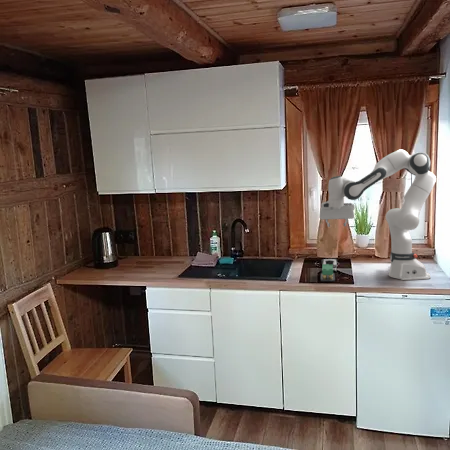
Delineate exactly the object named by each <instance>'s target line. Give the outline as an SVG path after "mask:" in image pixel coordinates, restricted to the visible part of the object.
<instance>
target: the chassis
mask: <svg viewBox="0 0 450 450" xmlns="http://www.w3.org/2000/svg"><path fill="white" fill-rule="evenodd" d="M335 274H336V273H333V275H322V272H320V282H336V275H335Z"/></svg>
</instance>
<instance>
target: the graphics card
mask: <svg viewBox="0 0 450 450" xmlns="http://www.w3.org/2000/svg"><path fill="white" fill-rule="evenodd" d="M321 264H333V273H334V274H337V270H338V269H337V267H338V259H337V258H328V259H327V258H325V259H324V258H323V259H321Z"/></svg>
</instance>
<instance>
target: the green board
mask: <svg viewBox="0 0 450 450" xmlns="http://www.w3.org/2000/svg"><path fill="white" fill-rule="evenodd" d="M321 264H322V266H321V267H322V268H321V273H322V275H333V271H334V270H333V264H323V263H321Z"/></svg>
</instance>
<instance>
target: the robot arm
mask: <svg viewBox="0 0 450 450" xmlns="http://www.w3.org/2000/svg"><path fill="white" fill-rule="evenodd" d="M403 169H404V170H405V171H407V172H408V173H409V174H411V175H413V176H415V178H414V180H413V182H412V183H411V185H410V186H409V187H408V189H407V190H406V193H405V195H404V196H403V204H402V206H401V208H398V207H397V208H390V209H389V210H388V211H387V212H386V214H385V220H386V222H387V224H388V229H389V233H390V239H391V242H390V243H391V246H390V247H391V251H390V269H389V272H388V276H389V277H391V278H392V279H393V278H394V279H399V280H401V281H413V280H429V279H431V274H430V273H429V272H428V271H427V269H426V266H425V265H424V263H422V262H421V261H420V260H418V259H417V258H418V255H417V253H416V252H413V239H412V236H411V234H410V231H413V230H416V229H417V227H419V224H420V219H419V217H420V213H421V212H422V211H421V210H422V208H423V206H424V205H425V202H426V200H427V199H428V197H429V196H430V194H431V192H432V191H433V188H434V186H435V184H436V182H437V178H436V177H437V176H436V175H435V174H434V173H433V172H432V171H430V170H431V159H430V156H429V155H428V154H427V153H426V152H423V151H418V152H415V153H413V154H412V155H410V154H409V153H408V152H407V151H406V150H404V149H398V150H395V151H394V152H391V153H389V154H387V155H386V156H384V157H382V158H381V159H380V160H379V161H377V162H376V164H375V166H374V168H373V170H372V171H371V172H370V173H369V174H367V175H365V176H364V177H363V178H361V179H359V180H357V181H353V180H350V179H347V178H345V177H343V176H342V175H336V176H333V177H330V178H329V181H328V189H327V190H328V200H327V201H324V202H321V205H320V206H321V207H320V209H319V217H318V218H319V220H325V223H326V224H327V227H328V228H329V227H331V223H329V220H345V222H344V223H343V227H347V223H348V221H349V219H351V220H352V219H354V218H355V213H354V210H355V205H354V204H353V203H351V202H345V198H347V199H348V200H351V201H355V200H358V199H360V198H361V197H362V195H363V194H364V192H365V191H366V190H367V189H369V188H370V187H372V186H373V185H375V184H377V182H380V181H382V180H384V179H385V178H388V177H390V176H393V175H394V174H396V173H398V172H399V171H401V170H403Z"/></svg>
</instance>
